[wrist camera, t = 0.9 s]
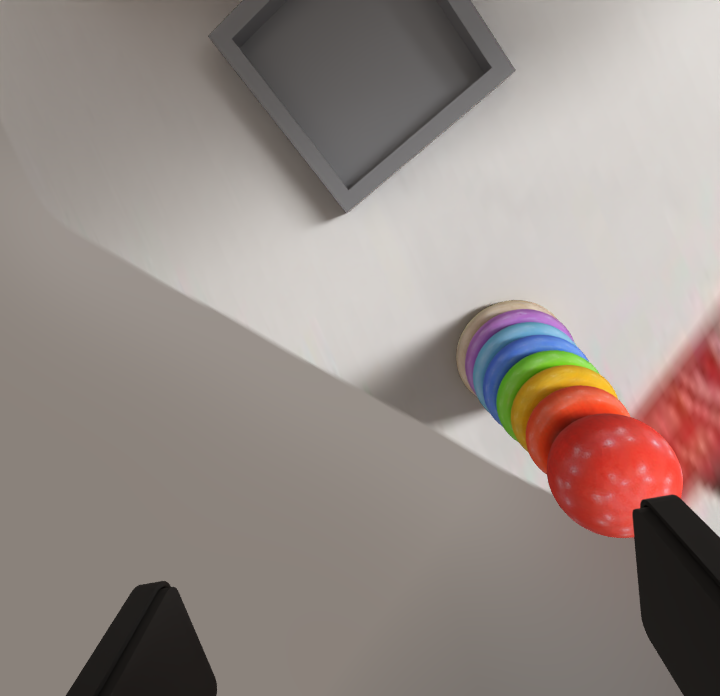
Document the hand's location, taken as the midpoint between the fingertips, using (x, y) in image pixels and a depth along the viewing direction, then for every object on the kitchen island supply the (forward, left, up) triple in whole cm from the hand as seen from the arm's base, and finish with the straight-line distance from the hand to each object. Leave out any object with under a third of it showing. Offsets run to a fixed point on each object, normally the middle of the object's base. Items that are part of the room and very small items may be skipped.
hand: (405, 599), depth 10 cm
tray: (-15, -7, -27) cm, 31 cm away
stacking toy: (0, +10, -27) cm, 29 cm away
